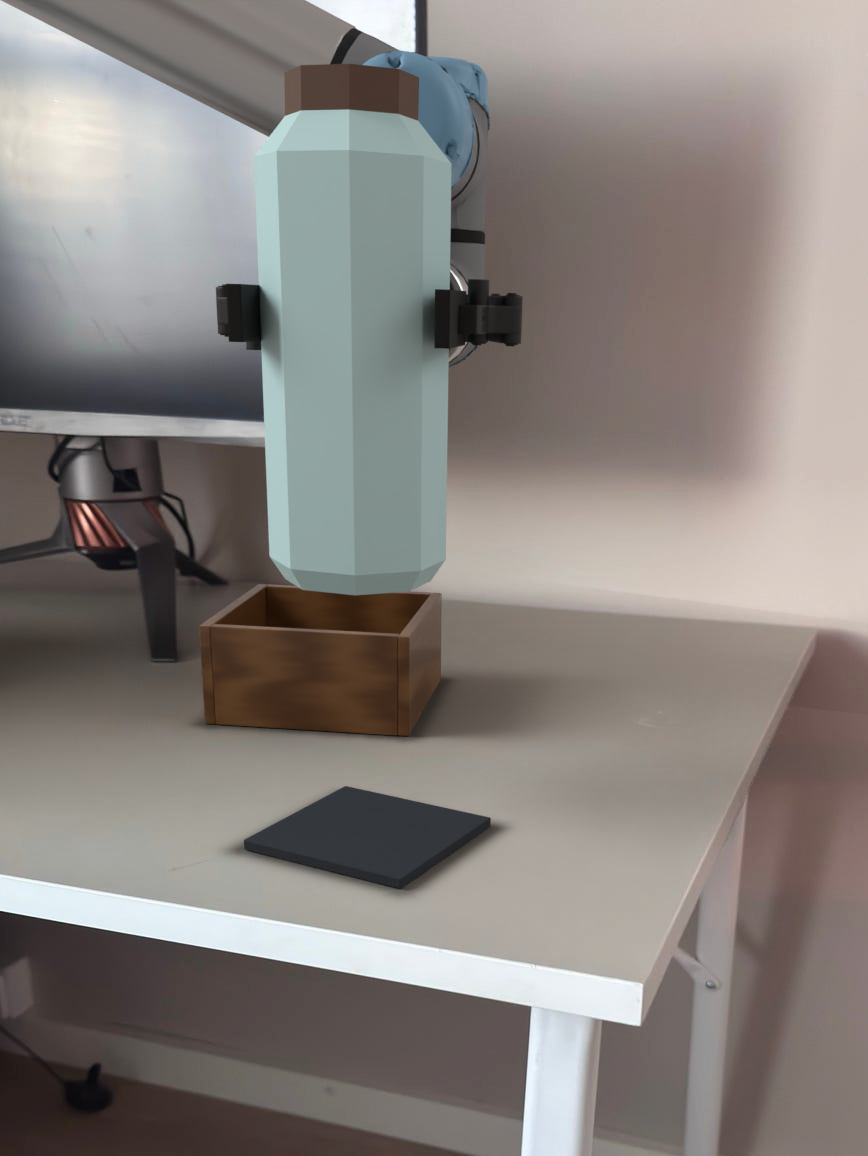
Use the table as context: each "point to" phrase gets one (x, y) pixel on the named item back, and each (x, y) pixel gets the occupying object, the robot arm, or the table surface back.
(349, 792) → the mat
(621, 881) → the table surface
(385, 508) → the water bottle
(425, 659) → the wooden box
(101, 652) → the table surface
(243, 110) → the robot arm
